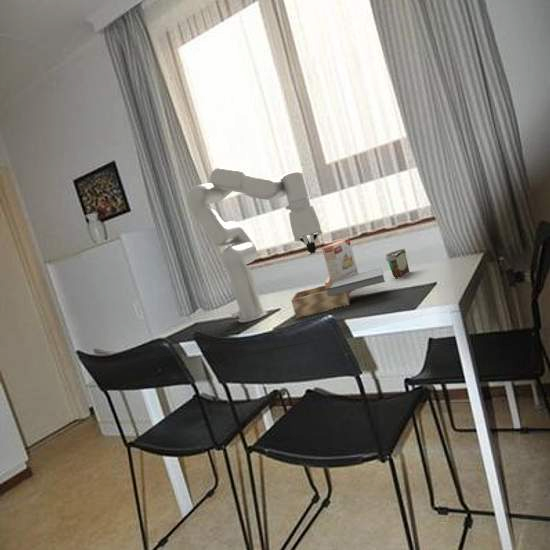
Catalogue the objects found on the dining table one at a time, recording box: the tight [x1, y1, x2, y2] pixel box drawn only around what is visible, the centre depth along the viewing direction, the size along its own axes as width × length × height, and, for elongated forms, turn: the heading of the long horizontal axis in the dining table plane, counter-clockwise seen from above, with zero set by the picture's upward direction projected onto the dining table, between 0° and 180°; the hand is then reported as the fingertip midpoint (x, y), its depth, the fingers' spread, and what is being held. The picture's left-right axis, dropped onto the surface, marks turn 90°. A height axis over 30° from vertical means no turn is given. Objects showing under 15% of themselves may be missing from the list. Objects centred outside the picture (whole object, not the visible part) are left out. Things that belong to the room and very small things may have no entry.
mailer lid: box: [324, 267, 386, 296], centre depth 173 cm, size 21×15×5 cm
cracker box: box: [322, 238, 359, 294], centre depth 192 cm, size 14×6×21 cm, turn 143°
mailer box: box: [290, 284, 351, 319], centre depth 176 cm, size 20×13×7 cm, turn 79°
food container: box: [385, 248, 410, 279], centre depth 193 cm, size 12×6×10 cm, turn 144°
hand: (313, 253), depth 174 cm, fingers closed
